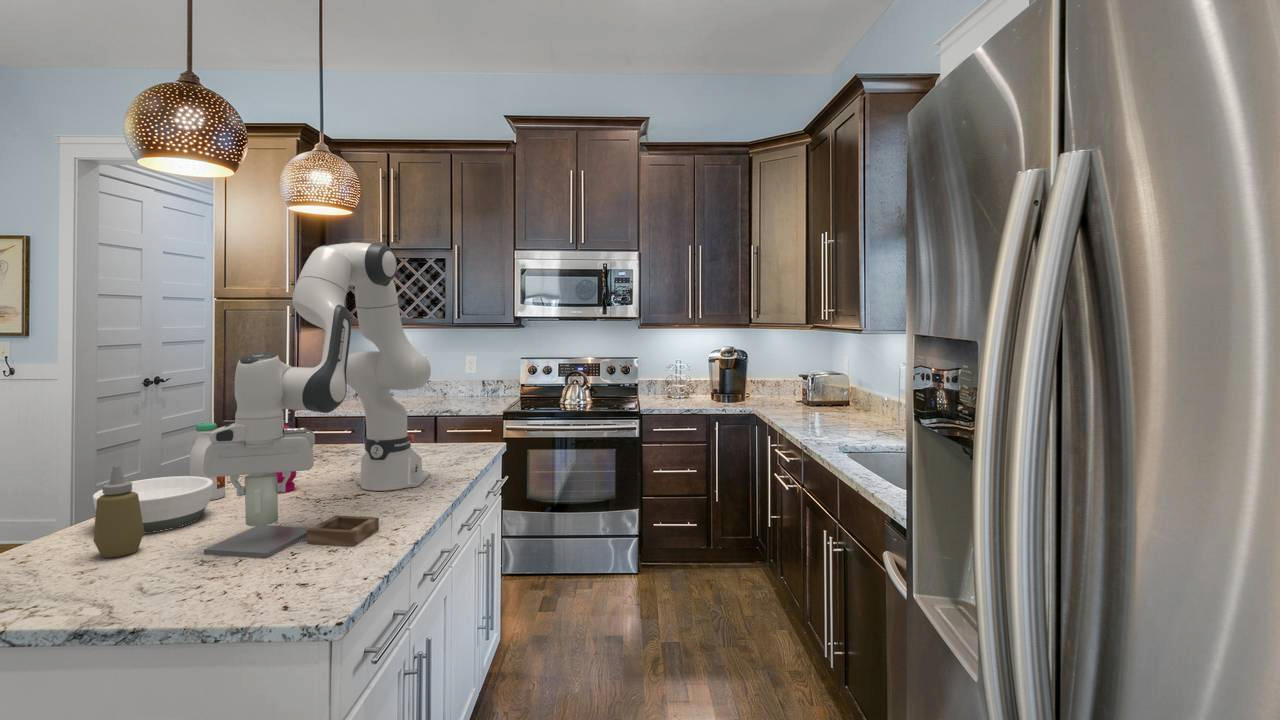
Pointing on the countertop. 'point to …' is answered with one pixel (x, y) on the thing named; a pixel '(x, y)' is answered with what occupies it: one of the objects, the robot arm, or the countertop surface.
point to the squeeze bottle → (118, 518)
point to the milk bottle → (198, 459)
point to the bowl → (170, 500)
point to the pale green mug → (261, 499)
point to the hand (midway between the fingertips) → (261, 493)
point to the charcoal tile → (259, 541)
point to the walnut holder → (343, 530)
